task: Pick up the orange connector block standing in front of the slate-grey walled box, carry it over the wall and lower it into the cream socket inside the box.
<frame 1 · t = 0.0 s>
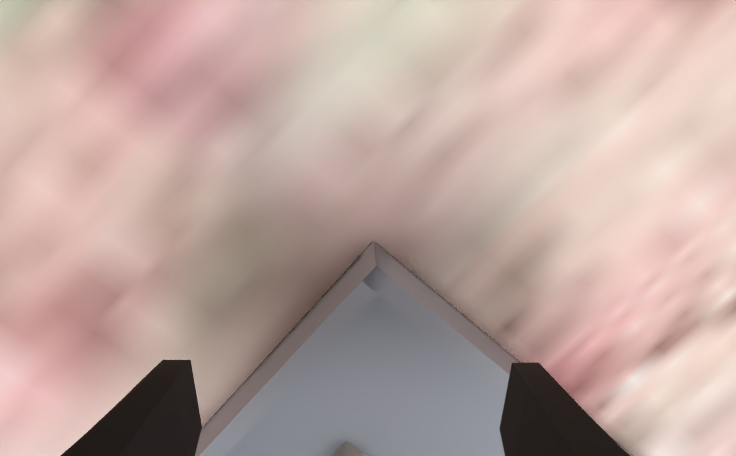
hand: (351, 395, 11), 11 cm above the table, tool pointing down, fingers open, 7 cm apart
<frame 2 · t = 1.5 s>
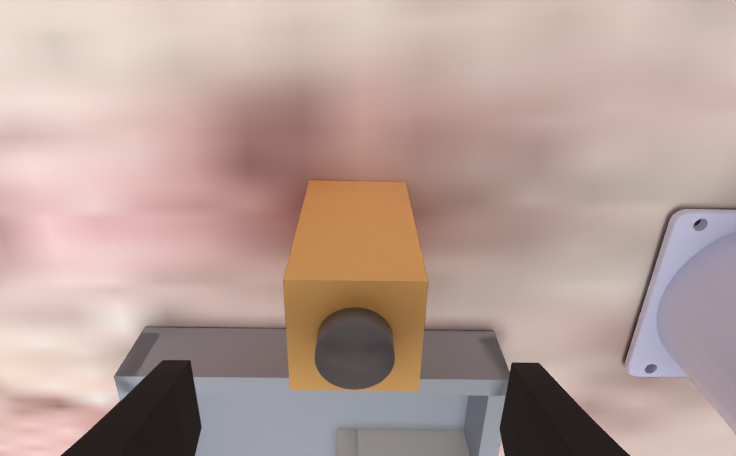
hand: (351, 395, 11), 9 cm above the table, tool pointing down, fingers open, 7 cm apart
connector: (356, 224, 20), on the table
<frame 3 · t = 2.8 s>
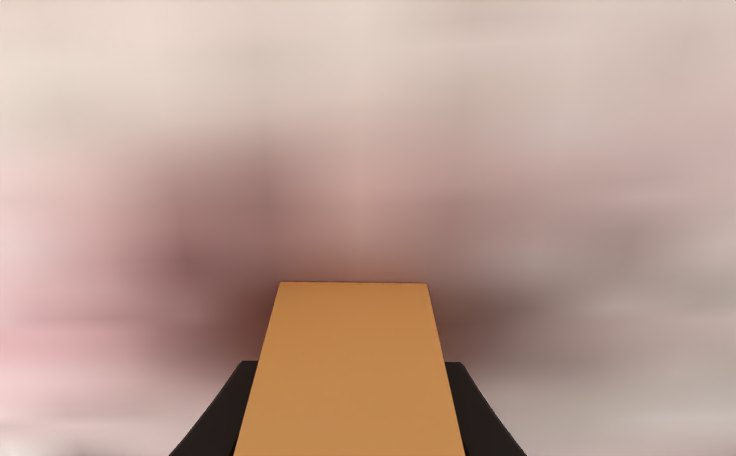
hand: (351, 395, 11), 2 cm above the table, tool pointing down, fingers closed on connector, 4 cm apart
connector: (352, 341, 13), on the table, touching gripper
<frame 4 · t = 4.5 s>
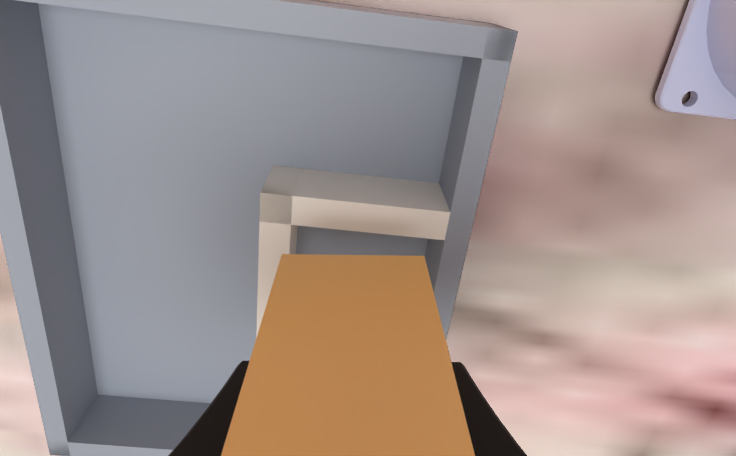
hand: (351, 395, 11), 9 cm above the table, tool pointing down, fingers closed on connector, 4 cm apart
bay: (253, 244, 20), on the table
connector: (352, 314, 13), point 6 cm above the table, touching gripper
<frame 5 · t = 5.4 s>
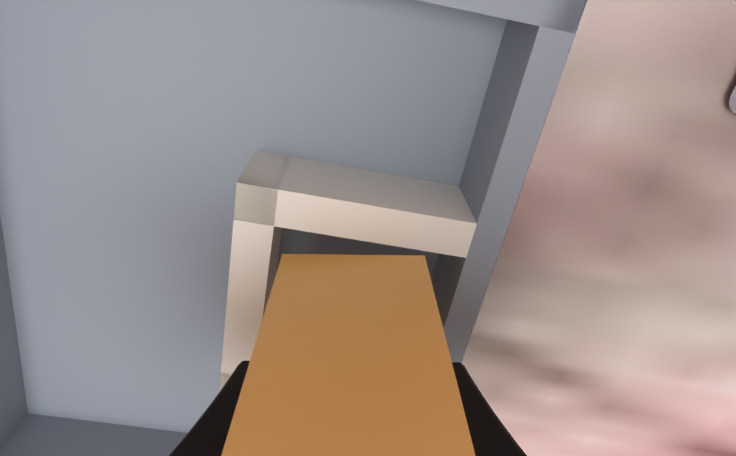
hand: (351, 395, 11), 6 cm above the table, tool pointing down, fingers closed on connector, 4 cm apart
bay: (227, 245, 16), on the table
connector: (353, 314, 13), point 3 cm above the table, touching gripper
when the fingers open (4 cm above the table, at t = 6.2 s): connector moves 1 cm, resting on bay.
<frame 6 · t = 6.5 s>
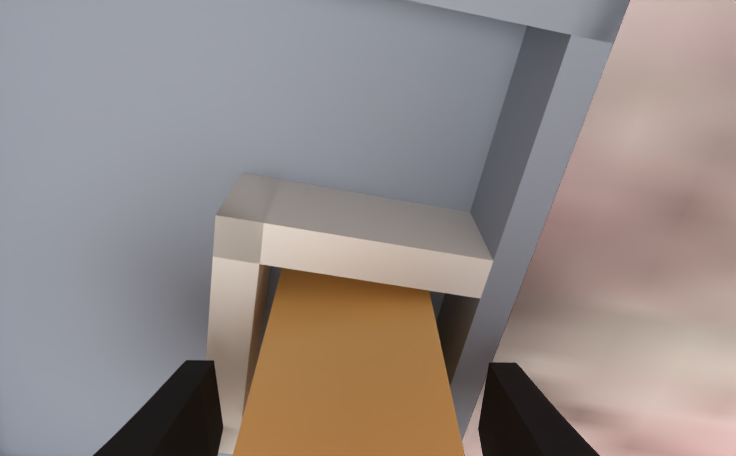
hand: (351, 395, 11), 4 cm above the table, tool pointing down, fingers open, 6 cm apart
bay: (210, 276, 15), on the table
connector: (353, 302, 14), resting on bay
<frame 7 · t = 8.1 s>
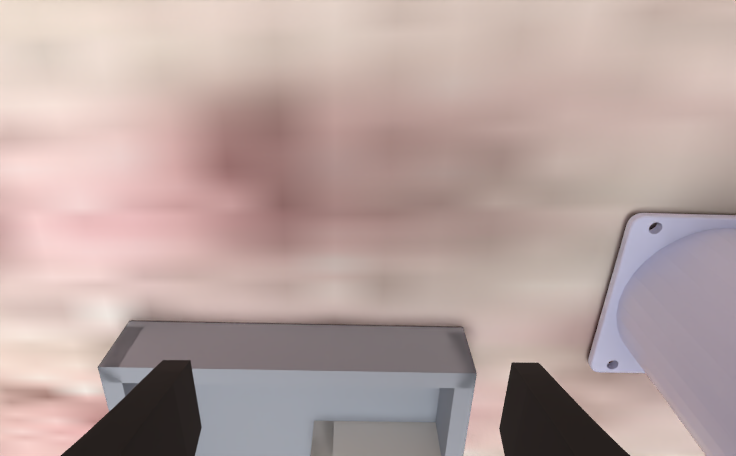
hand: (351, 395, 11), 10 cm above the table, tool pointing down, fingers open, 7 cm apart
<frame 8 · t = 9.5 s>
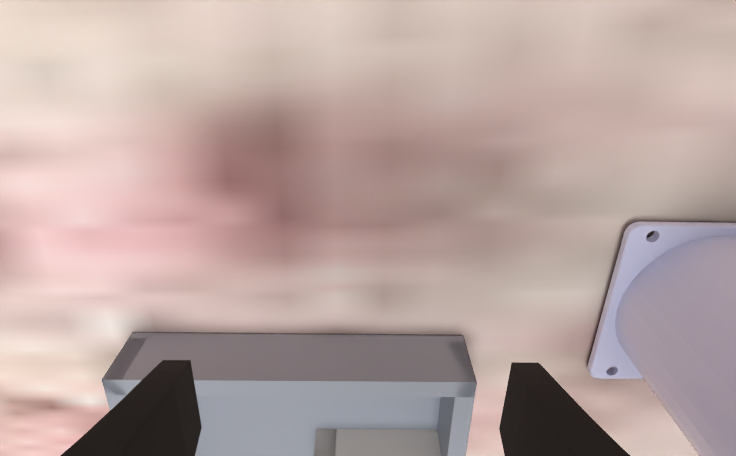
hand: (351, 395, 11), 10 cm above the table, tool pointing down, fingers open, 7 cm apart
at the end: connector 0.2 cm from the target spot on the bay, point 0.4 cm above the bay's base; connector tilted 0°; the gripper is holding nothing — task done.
